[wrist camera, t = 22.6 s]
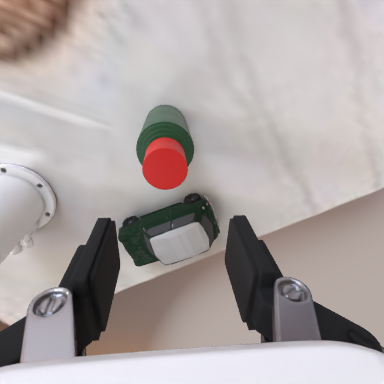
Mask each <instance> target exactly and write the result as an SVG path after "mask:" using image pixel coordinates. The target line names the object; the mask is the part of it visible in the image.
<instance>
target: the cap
mask: <svg viewBox="0 0 384 384" xmlns="http://www.w3.org/2000/svg"><path fill="white" fill-rule="evenodd" d="M142 170H143V175H144V177H145V179H146V180H147V182H148V183H149V184H151V185H152V186H154V187H156V188H158V189H164V190H167V189H172V188H175V187H177V186H179V185H180V184H181V183H182V182H183V181H184V180H185V178H186V175H187V171H188V166H187V161H186V157H185V152H184V149H183V147H182V146H181V144H180V143H179V142H177V141H176V140H174V139H172V138H167V137H163V138H158V139H156V140H154V141H153V142H151V143H150V145H149V146H148V148H147V150H146V153H145V157H144V162H143V167H142Z"/></svg>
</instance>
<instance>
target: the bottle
mask: <svg viewBox="0 0 384 384" xmlns="http://www.w3.org/2000/svg"><path fill="white" fill-rule="evenodd" d="M163 137H167V138H172V139H174V140H176V141H177V142H179V143H180V144H181V146H182V147H183V149H184V152H185V157H186V161H187V166H189V164H190V163H191V161H192V158H193V155H194V145H193V141H192V138H191V135H190V133H189V130H188V127H187V124H186V121H185V119H184V116H183V115H182V113H181V112H180V111H179V110H178V109H177V108H175V107H173V106H170V105H160V106H157V107H155V108H154V109H152V110H151V111H150V113H149V114H148V116H147V118H146V121H145V123H144V126H143V128H142V131H141V133H140V136H139V138H138V141H137V146H136V151H137V156H138V159H139V161H140V163H141V164H142V166H143V162H144V157H145V153H146V150H147V148H148V146H149V145H150V143H151V142H153V141H154V140H156V139H158V138H163Z"/></svg>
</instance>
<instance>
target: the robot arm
mask: <svg viewBox="0 0 384 384" xmlns="http://www.w3.org/2000/svg"><path fill="white" fill-rule="evenodd" d="M55 210H56V199H55V195H54V193H53V191H52V189H51V187H50V186H49V185H48V183H47V182H46V181H45V180H44V179H43V178H42V177H40V176H39V175H38V174H36V173H35V172H33V171H31V170H29V169H27V168H24V167H22V166H18V165H13V164H0V264H1V263H2V262H3V260H4V259H5V258H6V257H7V256H8V255H9V253H10V254H12V255H14V254H18V253H20V252H21V251H22V250H23V249H22V246H21V243H20V240H21V239H22V238H23V243H24V246H25V247H26V248H29V247H32V246H33V245H34V243H33V239H32V238H31V234H32V232H33V231H34V230H36V229H39V228H41V227H43V226H44V225H46V224H47V223H48V222H49V221H50V219H51V218H52V217H53V215H54V213H55ZM225 265H226V269H227V272H228V275H229V278H230V282H231V285H232V289H233V292H234V295H235V299H236V302H237V305H238V308H239V312H240V315H241V319H242V321H243V322H246V323H247V326H248V329H249V330H256V331H257V332H259V333H260V334H261V343H255V344H240V345H225V346H211V347H197V348H185V349H170V350H156V351H143V352H130V353H117V354H105V355H92V356H86V346H87V345H89V344H90V343H91V342H92V341H96V340H99V337H100V333H101V332H102V331H105V330H106V326H107V321H108V317H109V313H110V308H111V304H112V300H113V296H114V291H115V287H116V283H117V279H118V274H119V270H120V257H119V249H118V241H117V233H116V225H115V221H111V218H98V220H97V222H96V224H95V226H94V228H93V230H92V233H91V235H90V237H89V239H88V241H87V244H86V245H80V246H79V247H78V248H77V250H76V252H75V254H74V256H73V258H72V260H71V262H70V264H69V266H68V268H67V270H66V272H65V274H64V276H63V278H62V280H61V282H60V284H59V287H55V288H51V289H48V290H45V291H43V292H42V293H40V294H38V295H37V296H36V297H35V298H34V299H33V300H32V301H31V303H30V304H29V306H28V309H27V316H25V317H24V318H22V319H21V320H19V321H17V322H16V323H14V324H12V325H11V326H9V327H8V328H6V329H4V330H3V331H1V332H0V384H384V348H383V347H382V346H381V345H380V343H379V342H378V341H377V339H376V338H375V337H374V336H373V335H372V334H371V333H370V332H368V331H367V330H366V329H364V328H362V327H361V326H359V325H357V324H355V323H353V322H351V321H350V320H348V319H346V318H344V317H342V316H340V315H338V314H337V313H335V312H333V311H331V310H329V309H327V308H325V307H323V306H322V305H320V304H318V303H316V302H314V301H313V300H312V295H311V292H310V290H309V289H308V287H307V286H306V285H305V284H304V283H302V282H301V281H299V280H297V279H294V278H291V277H283V275H282V273H281V272H280V270H279V268H278V266H277V264H276V263H275V261H274V259H273V257H272V255H271V254H270V252H269V250H268V248H267V246H266V245H265V243H264V242H263V240H258V238H257V236H256V235H255V233H254V231H253V229H252V227H251V225H250V223H249V221H248V220H247V218H246V216H245V215H242V216H234V217H233V218H231V219H230V222H229V230H228V237H227V245H226V253H225Z"/></svg>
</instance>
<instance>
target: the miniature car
mask: <svg viewBox="0 0 384 384" xmlns="http://www.w3.org/2000/svg"><path fill="white" fill-rule="evenodd" d="M204 197H205V198H206V199H207V201H208V202H207V201H206V200H205V199H201V197H200V195H199V194H197V193H194V194H190V195H188V196H187V197H185V200H184V203H185V204H184V203H177V204H174V205H171V206H169V207H166V208H163V209H160V210H158V211H155V212H152V213H149V214H147V215H144V216H141V217H139V218H140V219H139V218H137V217H136V216H132V217H129V218H127V219H126V220H125V221H124V222H123V227H120V228H119V236H118V239H119V241H120V242H122V243H123V245H124V247H125V249H126V251H127V252H128V253H129V255H130V256H131V257H132V259H133V260H134V263H135V265H136V266H142V265H146V264H149V263H152V262H156V261H160V262H162V263H163V264H164V265H169V264H174V263H177V262H180V261H182V260H185V259H188V258H191V257H193V256H196V255H198V254H201V253H203V252H206V251H208V250H209V249H210V247H211V245H212V243H213V241H214V240H216V238H217V237H218V234H219V233H220V230H219V222H218V219H217V216H216V213H215V210H214V208H213V206H212V204H211V202H210V201H209V199H208V198H207V196H205V195H204ZM213 212H214V213H213ZM214 215H215V216H214ZM215 218H216V219H215ZM138 219H139V220H138Z"/></svg>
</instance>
